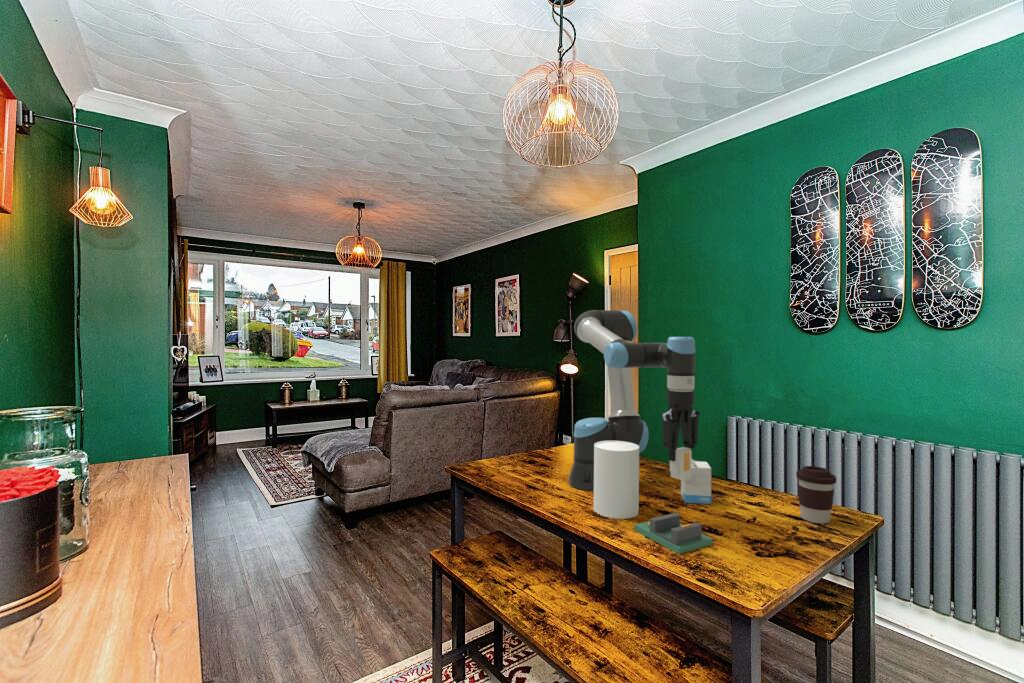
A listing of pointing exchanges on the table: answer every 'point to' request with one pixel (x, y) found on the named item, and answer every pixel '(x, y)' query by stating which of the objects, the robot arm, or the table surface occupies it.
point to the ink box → (697, 484)
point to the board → (671, 546)
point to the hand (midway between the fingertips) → (680, 470)
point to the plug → (684, 465)
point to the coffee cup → (815, 493)
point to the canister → (616, 479)
